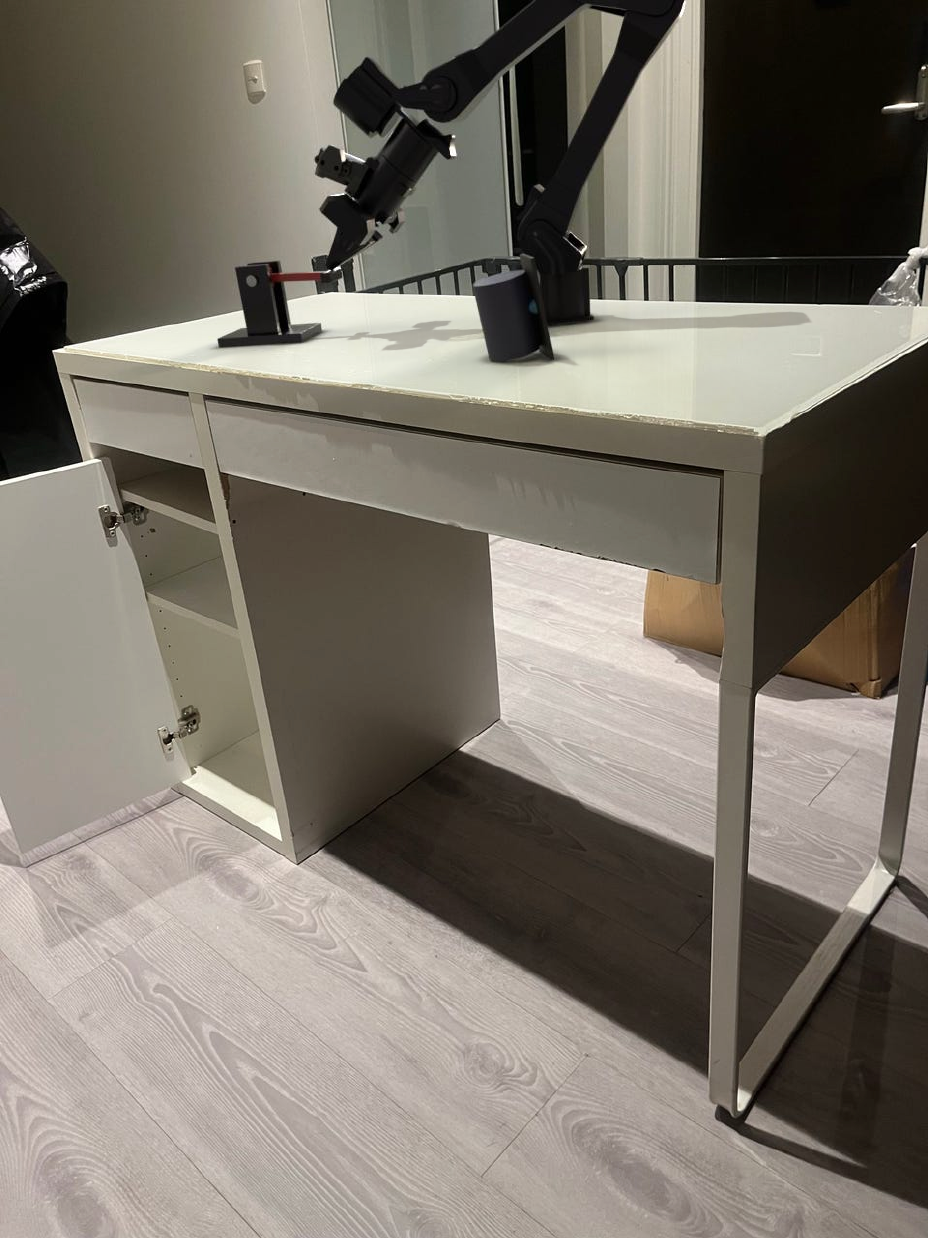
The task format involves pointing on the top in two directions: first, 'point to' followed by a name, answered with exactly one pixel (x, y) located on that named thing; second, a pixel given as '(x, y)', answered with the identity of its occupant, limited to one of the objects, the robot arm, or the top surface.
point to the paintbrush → (307, 276)
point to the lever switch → (265, 310)
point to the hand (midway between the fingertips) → (328, 267)
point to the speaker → (513, 313)
